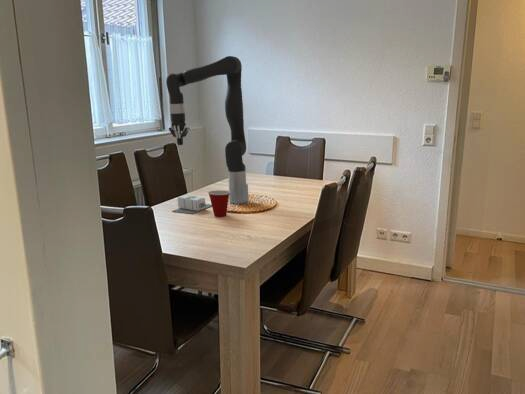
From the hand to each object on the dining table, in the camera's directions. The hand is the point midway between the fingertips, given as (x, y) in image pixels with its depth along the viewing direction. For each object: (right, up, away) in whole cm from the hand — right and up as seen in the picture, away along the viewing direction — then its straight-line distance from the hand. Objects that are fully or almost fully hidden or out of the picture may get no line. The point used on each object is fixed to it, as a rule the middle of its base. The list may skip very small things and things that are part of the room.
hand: (180, 145), depth 258 cm
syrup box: (+2, -30, -7) cm, 31 cm away
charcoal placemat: (+8, -34, -10) cm, 36 cm away
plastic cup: (+24, -37, -25) cm, 51 cm away
